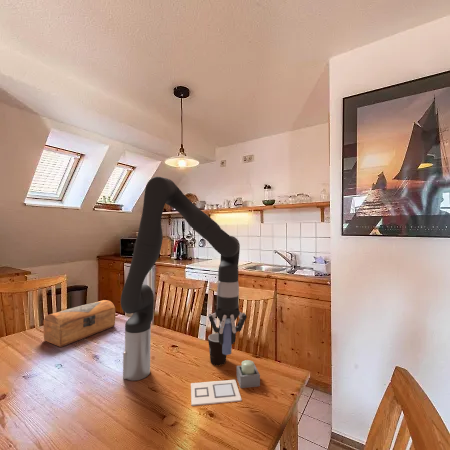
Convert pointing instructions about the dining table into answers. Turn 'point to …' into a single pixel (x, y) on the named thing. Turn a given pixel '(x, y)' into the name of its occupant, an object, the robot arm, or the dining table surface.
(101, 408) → the dining table surface
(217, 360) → the coffee mug
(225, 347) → the marker
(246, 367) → the button
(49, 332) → the wooden box
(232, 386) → the sheet
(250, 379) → the button housing
